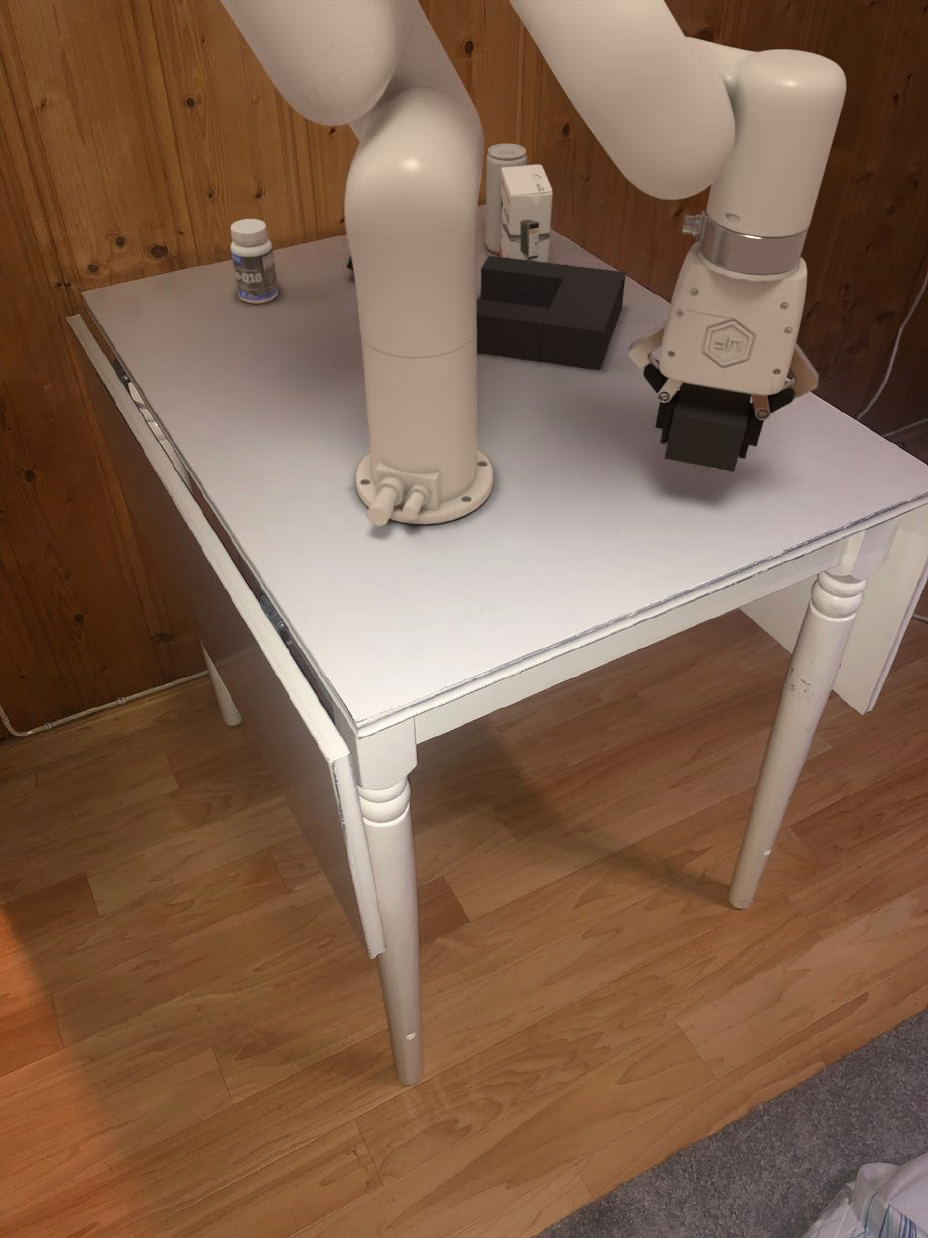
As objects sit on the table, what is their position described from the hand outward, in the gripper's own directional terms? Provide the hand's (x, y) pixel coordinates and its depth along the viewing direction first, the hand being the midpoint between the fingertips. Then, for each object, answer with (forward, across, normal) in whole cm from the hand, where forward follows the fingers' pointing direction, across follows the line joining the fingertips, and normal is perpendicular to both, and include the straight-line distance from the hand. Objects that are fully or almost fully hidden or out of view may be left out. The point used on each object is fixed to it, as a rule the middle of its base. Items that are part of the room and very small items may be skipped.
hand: (704, 440), depth 88 cm
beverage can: (+7, -29, +45) cm, 54 cm away
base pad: (+6, -20, +26) cm, 34 cm away
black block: (+1, 0, 0) cm, 1 cm away
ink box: (+7, -25, +38) cm, 46 cm away
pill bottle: (+8, -54, +25) cm, 60 cm away
